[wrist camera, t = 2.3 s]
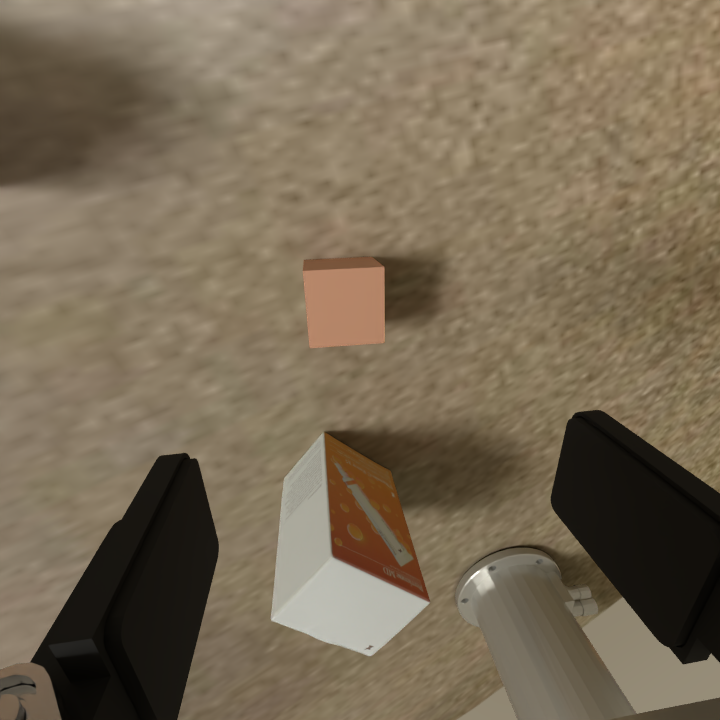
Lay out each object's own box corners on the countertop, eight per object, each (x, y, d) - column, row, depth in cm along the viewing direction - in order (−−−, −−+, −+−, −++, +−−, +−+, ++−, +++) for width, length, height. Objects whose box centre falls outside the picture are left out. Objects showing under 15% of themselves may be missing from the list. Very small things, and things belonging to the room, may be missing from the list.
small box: (391, 469, 35) (434, 604, 23) (350, 512, 37) (370, 660, 25) (323, 428, 33) (332, 557, 21) (281, 477, 34) (267, 624, 22)
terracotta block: (371, 256, 28) (384, 266, 23) (372, 321, 29) (384, 342, 25) (303, 259, 27) (302, 271, 22) (309, 325, 29) (309, 348, 24)
